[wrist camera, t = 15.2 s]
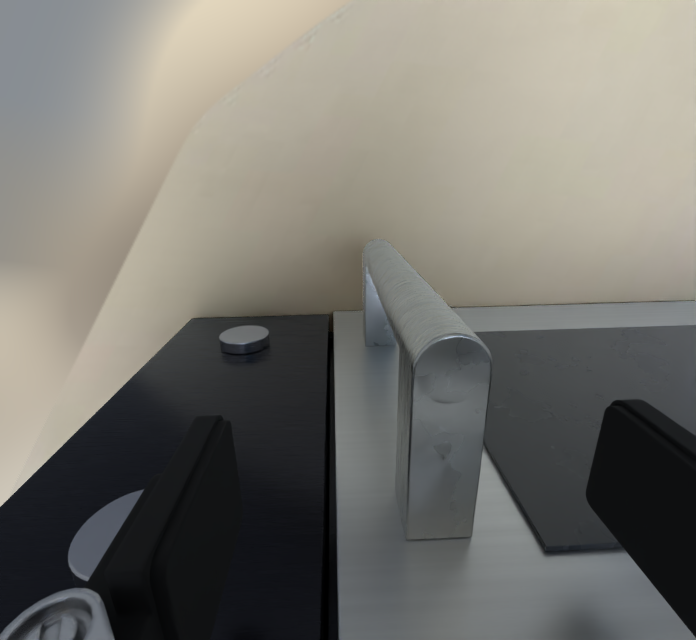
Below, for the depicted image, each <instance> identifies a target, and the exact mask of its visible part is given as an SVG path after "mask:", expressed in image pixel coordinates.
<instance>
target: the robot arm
mask: <svg viewBox="0 0 696 640" xmlns="http://www.w3.org/2000/svg"><path fill="white" fill-rule="evenodd" d="M586 498H587V501H588V504H589V505H590V507H591V508H592V510H593V511H594V512H595V513H596V515H597V516H598V517H599V518H600V520H601V521H602V522H603V523H604V525H605V526H606V527H607V528H608V529H609V531H610V532H611V533H612V534H613V536H614V537H615V538H616V539H617V541H618V542H619V543H620V544H621V546H622V547H623V548H624V549H625V551H626V552H627V553H628V554H629V556H630V557H631V558H632V559H633V561H634V562H635V563H636V564H637V566H638V567H639V568H640V569H641V571H642V572H643V573H644V574H645V575H646V577H647V578H648V579H649V580H650V582H651V583H652V584H653V585H654V587H655V588H656V589H657V590H658V592H659V593H660V594H661V595H662V597H663V598H664V599H665V600H666V602H667V603H668V604H669V605H670V607H671V608H672V609H673V610H674V612H675V613H676V614H677V615H678V617H679V618H680V619H681V620H682V621H683V623H684V624H685V625H686V626H687V628H688V629H689V630H690V631H691V633H692V634H693V635H694V636H695V638H696V436H695V435H694V434H692V433H691V432H689V431H688V430H686V429H685V428H683V427H682V426H681V425H679V424H678V423H676V422H675V421H673V420H672V419H670V418H669V417H667V416H666V415H665V414H663V413H662V412H660V411H659V410H657V409H656V408H654V407H653V406H652V405H650V404H649V403H647V402H646V401H644V400H642V399H626V400H615V401H613V402H612V403H611V405H610V406H609V407H607V408H606V409H605V412H604V415H603V420H602V424H601V428H600V432H599V437H598V441H597V445H596V449H595V454H594V458H593V462H592V466H591V471H590V475H589V479H588V483H587V487H586ZM242 517H243V505H242V497H241V490H240V483H239V476H238V469H237V461H236V454H235V447H234V440H233V433H232V426H231V422H230V421H229V420H226V421H224V419H223V417H222V415H198V416H196V417H195V419H194V420H193V422H192V424H191V425H190V427H189V429H188V430H187V432H186V434H185V435H184V437H183V439H182V441H181V442H180V444H179V446H178V447H177V449H176V451H175V452H174V454H173V456H172V458H171V459H170V461H169V463H168V464H167V466H166V468H165V469H164V471H163V473H162V474H156V475H155V476H153V477H152V479H151V480H150V481H149V483H148V484H147V486H146V487H145V489H144V491H143V492H142V494H141V496H140V497H139V499H138V500H137V502H136V504H135V505H134V507H133V508H132V510H131V512H130V513H129V515H128V517H127V518H126V520H125V521H124V523H123V525H122V526H121V528H120V530H119V531H118V533H117V534H116V536H115V538H114V539H113V541H112V542H111V544H110V546H109V547H108V549H107V551H106V552H105V554H104V555H103V557H102V559H101V560H100V562H99V564H98V565H97V567H96V568H95V570H94V572H93V573H92V575H91V576H90V578H89V580H88V581H87V583H86V585H85V586H84V588H72V589H68V590H64V591H59V592H57V593H55V594H52V595H50V596H48V597H46V598H44V599H42V600H40V601H38V602H37V603H35V604H34V605H32V606H31V607H29V608H28V609H26V610H25V611H23V612H22V613H21V614H20V615H19V616H18V617H17V618H15V619H14V620H13V621H12V622H11V623H10V624H9V625H8V626H7V627H6V628H5V629H4V630H3V632H2V633H1V634H0V640H210V639H211V635H212V631H213V628H214V624H215V620H216V616H217V613H218V609H219V605H220V601H221V598H222V594H223V590H224V586H225V583H226V579H227V575H228V572H229V568H230V564H231V560H232V557H233V553H234V549H235V545H236V542H237V538H238V534H239V530H240V527H241V523H242Z"/></svg>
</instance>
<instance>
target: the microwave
mask: <svg viewBox="0 0 696 640" xmlns="http://www.w3.org/2000/svg"><path fill="white" fill-rule="evenodd" d="M198 415H222V417H223V419H224V421H226V420H229V421H230V422H231V426H232V433H233V440H234V447H235V454H236V461H237V469H238V476H239V483H240V490H241V497H242V505H243V517H242V523H241V527H240V530H239V534H238V538H237V542H236V545H235V549H234V553H233V557H232V560H231V564H230V568H229V572H228V575H227V579H226V583H225V586H224V590H223V594H222V598H221V601H220V605H219V609H218V613H217V616H216V620H215V624H214V628H213V631H212V635H211V639H210V640H338V607H337V536H336V465H335V394H334V332H329V315H295V316H261V317H227V318H194V319H191V320H190V321H189V322H188V323H187V324H186V325H185V326H184V327H183V328H182V329H181V330H180V331H179V332H178V333H177V334H176V335H175V336H174V337H173V338H172V339H171V340H170V341H169V342H168V343H167V344H166V345H165V346H164V347H163V348H162V349H160V350H159V351H158V352H157V353H156V354H155V355H154V356H153V357H152V358H151V359H150V360H149V361H148V362H147V363H146V364H145V365H144V366H143V367H142V368H141V369H140V370H139V371H138V372H137V373H136V374H135V375H134V376H133V377H132V378H131V379H130V380H129V381H128V382H127V383H126V384H125V385H124V386H123V387H122V388H121V389H120V390H119V391H118V392H117V393H116V394H115V395H114V396H113V397H112V398H111V399H110V400H109V401H108V402H107V403H106V404H105V405H104V406H103V407H102V408H100V409H99V410H98V411H97V412H96V413H95V414H94V415H93V416H92V417H91V418H90V419H89V420H88V421H87V422H86V423H85V424H84V425H83V426H82V427H81V428H80V429H79V430H78V431H77V432H76V433H75V434H74V435H73V436H72V437H71V438H70V439H69V440H68V441H67V442H66V443H65V444H64V445H63V446H62V447H61V448H60V449H59V450H58V451H57V452H56V453H55V454H54V455H53V456H52V457H51V458H50V459H49V460H48V461H47V462H46V463H45V464H44V465H43V466H42V467H40V468H39V469H38V470H37V471H36V472H35V473H34V474H33V475H32V476H31V477H30V478H29V479H28V480H27V481H26V482H25V483H24V484H23V485H22V486H21V487H20V488H19V489H18V490H17V491H16V492H15V493H14V494H13V495H12V496H11V497H10V498H9V499H8V500H7V501H6V502H5V503H4V504H3V505H2V506H1V507H0V634H1V633H2V632H3V630H4V629H5V628H6V627H7V626H8V625H9V624H10V623H11V622H12V621H13V620H14V619H15V618H17V617H18V616H19V615H20V614H21V613H22V612H23V611H25V610H26V609H28V608H29V607H31V606H32V605H34V604H35V603H37V602H38V601H40V600H42V599H44V598H46V597H48V596H50V595H52V594H55V593H57V592H59V591H64V590H68V589H72V588H84V586H85V585H86V583H87V581H88V580H89V578H90V576H91V575H92V573H93V572H94V570H95V568H96V567H97V565H98V564H99V562H100V560H101V559H102V557H103V555H104V554H105V552H106V551H107V549H108V547H109V546H110V544H111V542H112V541H113V539H114V538H115V536H116V534H117V533H118V531H119V530H120V528H121V526H122V525H123V523H124V521H125V520H126V518H127V517H128V515H129V513H130V512H131V510H132V508H133V507H134V505H135V504H136V502H137V500H138V499H139V497H140V496H141V494H142V492H143V491H144V489H145V487H146V486H147V484H148V483H149V481H150V480H151V479H152V477H153V476H155V475H156V474H162V473H163V471H164V469H165V468H166V466H167V464H168V463H169V461H170V459H171V458H172V456H173V454H174V452H175V451H176V449H177V447H178V446H179V444H180V442H181V441H182V439H183V437H184V435H185V434H186V432H187V430H188V429H189V427H190V425H191V424H192V422H193V420H194V419H195V417H196V416H198Z"/></svg>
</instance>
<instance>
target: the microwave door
mask: <svg viewBox="0 0 696 640" xmlns="http://www.w3.org/2000/svg"><path fill="white" fill-rule="evenodd" d="M333 322H334V394H335V465H336V536H337V607H338V640H696V638H695V636H694V635H693V634H692V633H691V631H690V630H689V629H688V628H687V626H686V625H685V624H684V623H683V621H682V620H681V619H680V618H679V617H678V615H677V614H676V613H675V612H674V610H673V609H672V608H671V607H670V605H669V604H668V603H667V602H666V600H665V599H664V598H663V597H662V595H661V594H660V593H659V592H658V590H657V589H656V588H655V587H654V585H653V584H652V583H651V582H650V580H649V579H648V578H647V577H646V575H645V574H644V573H643V572H642V571H641V569H640V568H639V567H638V566H637V564H636V563H635V562H634V561H633V559H632V558H631V557H630V556H629V554H628V553H627V552H626V551H625V549H624V548H623V547H622V546H621V544H620V543H619V542H618V541H617V539H616V538H615V537H614V536H613V534H612V533H611V532H610V531H609V529H608V528H607V527H606V526H605V525H604V523H603V522H602V521H601V520H600V518H599V517H598V516H597V515H596V513H595V512H594V511H593V510H592V508H591V507H590V505H589V504H588V501H587V498H586V487H587V483H588V479H589V475H590V471H591V466H592V462H593V458H594V454H595V449H596V445H597V441H598V437H599V432H600V428H601V424H602V420H603V415H604V412H605V409H606V408H607V407H609V406H610V405H611V403H612V402H613V401H615V400H626V399H642V400H644V401H646V402H647V403H649V404H650V405H652V406H653V407H654V408H656V409H657V410H659V411H660V412H662V413H663V414H665V415H666V416H667V417H669V418H670V419H672V420H673V421H675V422H676V423H678V424H679V425H681V426H682V427H683V428H685V429H686V430H688V431H689V432H691V433H692V434H694V435H695V436H696V301H670V302H636V303H602V304H568V305H534V306H500V307H466V308H450V307H449V306H448V305H447V303H446V302H445V301H444V300H443V299H442V298H441V297H440V296H439V295H438V294H437V293H436V292H435V291H434V290H433V289H432V288H431V286H430V285H429V284H428V283H427V282H426V281H425V280H424V279H423V278H422V277H421V276H420V275H419V274H418V273H417V272H416V271H415V269H414V268H413V267H412V266H411V265H410V264H409V263H408V262H407V261H406V260H405V259H404V258H403V257H402V256H401V255H400V254H399V252H398V251H397V250H396V249H395V248H394V247H393V246H392V245H391V244H390V243H389V242H388V241H386V240H384V239H374V240H372V241H370V242H369V243H367V245H366V246H365V248H364V250H363V311H334V312H333Z"/></svg>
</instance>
